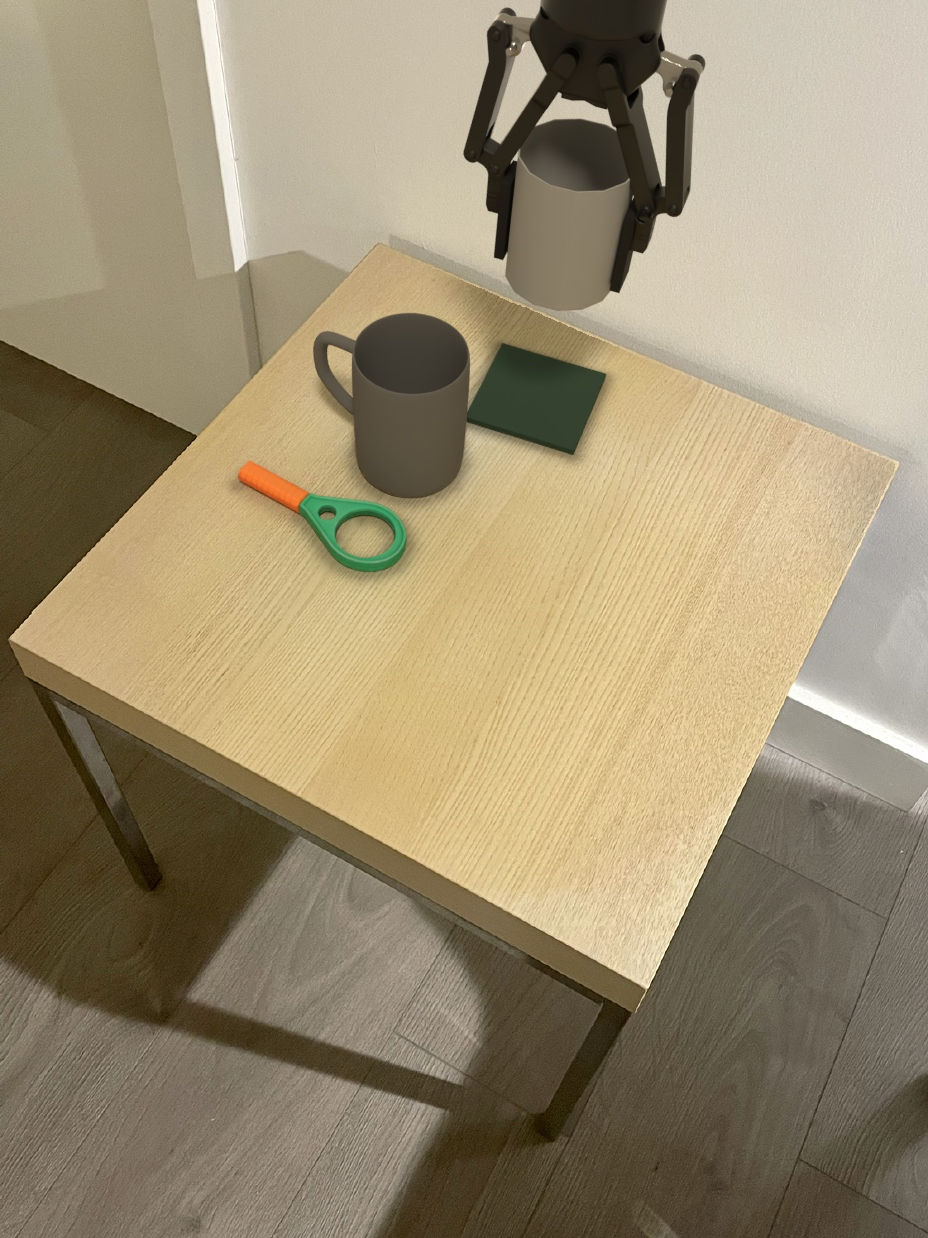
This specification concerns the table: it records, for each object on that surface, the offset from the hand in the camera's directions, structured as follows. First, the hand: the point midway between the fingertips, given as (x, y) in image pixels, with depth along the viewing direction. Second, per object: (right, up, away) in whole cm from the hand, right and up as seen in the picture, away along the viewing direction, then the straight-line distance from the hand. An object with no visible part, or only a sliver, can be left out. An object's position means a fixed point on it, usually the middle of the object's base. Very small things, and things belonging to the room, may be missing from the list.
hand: (561, 264), depth 81 cm
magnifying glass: (-19, -19, +6) cm, 27 cm away
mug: (-14, -12, +11) cm, 21 cm away
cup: (0, -1, +1) cm, 1 cm away
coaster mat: (-1, -7, +15) cm, 16 cm away
